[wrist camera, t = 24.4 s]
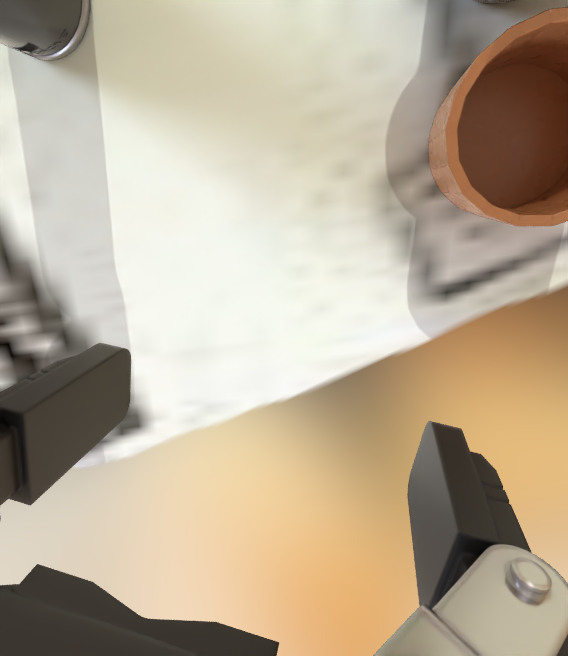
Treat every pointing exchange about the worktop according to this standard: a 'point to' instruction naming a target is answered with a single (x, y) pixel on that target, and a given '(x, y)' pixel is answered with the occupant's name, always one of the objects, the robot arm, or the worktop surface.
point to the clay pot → (509, 127)
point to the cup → (494, 1)
